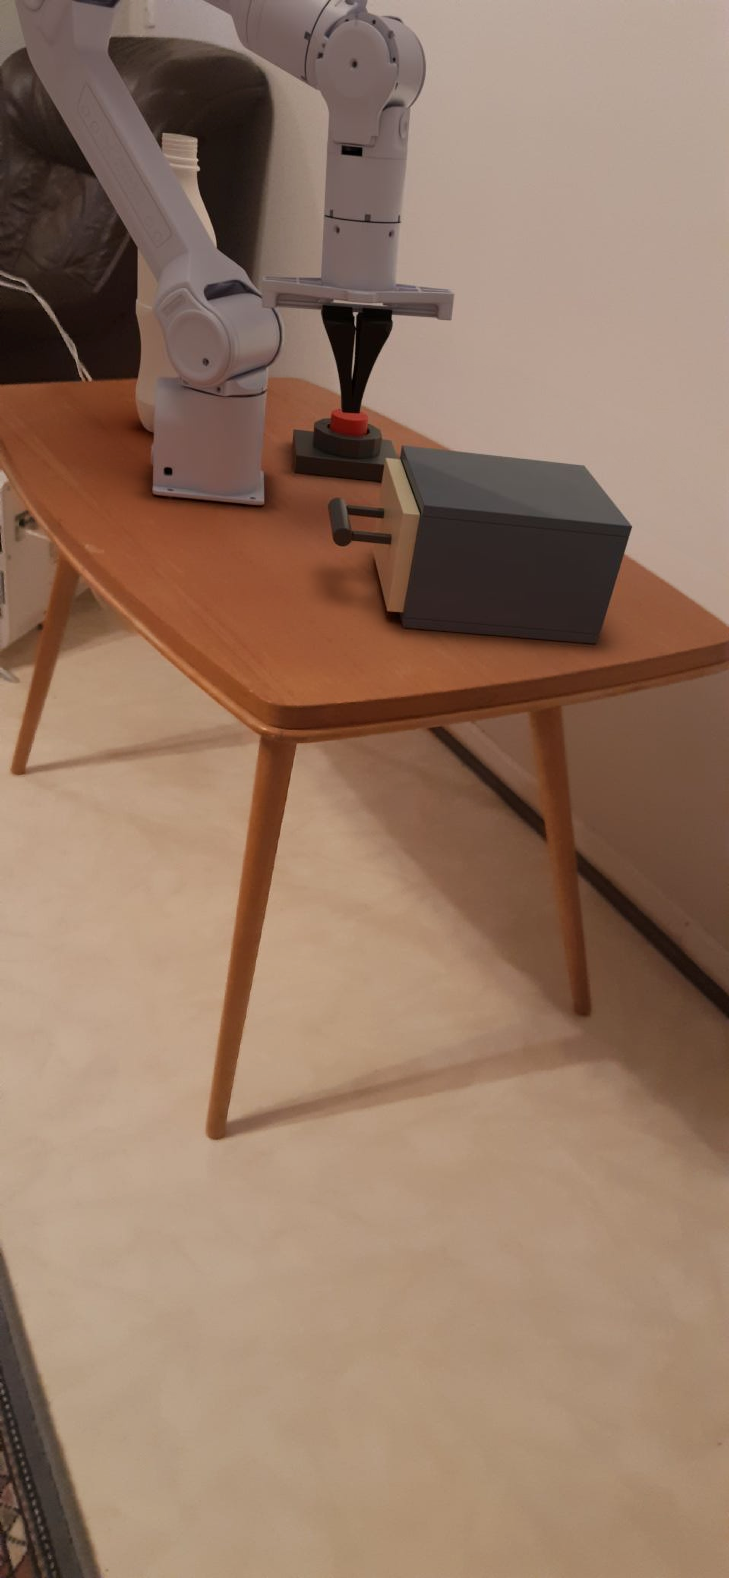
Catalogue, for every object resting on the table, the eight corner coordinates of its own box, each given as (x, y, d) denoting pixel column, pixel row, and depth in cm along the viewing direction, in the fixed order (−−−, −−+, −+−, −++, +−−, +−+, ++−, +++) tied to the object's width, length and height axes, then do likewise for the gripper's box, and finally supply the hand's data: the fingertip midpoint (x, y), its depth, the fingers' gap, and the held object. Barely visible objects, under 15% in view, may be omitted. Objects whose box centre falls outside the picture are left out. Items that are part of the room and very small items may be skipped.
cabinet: (402, 628, 73) (424, 504, 68) (384, 556, 83) (401, 445, 78) (597, 644, 75) (632, 526, 70) (556, 573, 85) (584, 465, 80)
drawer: (328, 606, 72) (341, 506, 68) (319, 543, 81) (330, 451, 77) (568, 627, 75) (594, 532, 71) (533, 563, 84) (555, 476, 80)
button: (330, 436, 97) (332, 418, 96) (328, 425, 100) (330, 407, 99) (367, 440, 98) (370, 422, 97) (364, 429, 101) (366, 411, 100)
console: (294, 472, 97) (298, 435, 95) (291, 446, 103) (295, 410, 101) (398, 483, 98) (404, 447, 96) (389, 456, 105) (394, 422, 103)
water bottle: (176, 446, 98) (185, 141, 84) (119, 426, 101) (119, 127, 87) (222, 433, 104) (238, 144, 89) (168, 414, 106) (175, 131, 92)
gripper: (263, 216, 71) (259, 417, 79) (468, 232, 73) (445, 428, 80) (263, 207, 77) (260, 395, 84) (454, 222, 78) (434, 405, 86)
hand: (350, 410), depth 83 cm, fingers closed
